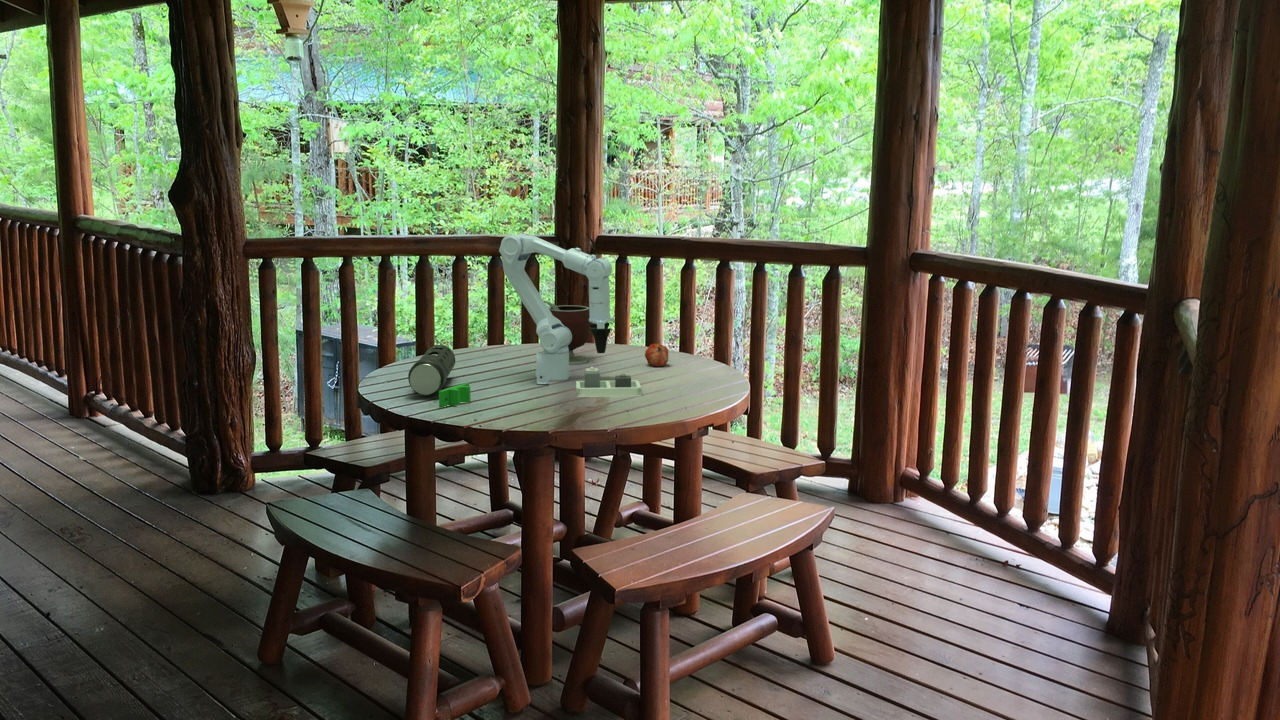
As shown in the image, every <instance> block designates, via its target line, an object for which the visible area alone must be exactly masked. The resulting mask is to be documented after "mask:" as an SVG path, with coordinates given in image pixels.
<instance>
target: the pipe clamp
mask: <svg viewBox="0 0 1280 720" xmlns="http://www.w3.org/2000/svg"><path fill="white" fill-rule="evenodd" d="M471 397H472V396H471V386H470V383H468V382H464V383H461V384H457V385H455V386H451V387H448V388H444V389H440V391H438V405H439V407H444V406H447V405H460V406H461V404H460V402H470V401H471V399H472V398H471ZM471 402H472V401H471Z"/></svg>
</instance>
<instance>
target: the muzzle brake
mask: <svg viewBox="0 0 1280 720" xmlns="http://www.w3.org/2000/svg"><path fill="white" fill-rule="evenodd" d="M455 364H456V355H455V353H454V351H453V350H452V349H451V348H450V347H449V346H447V345H444V344H436V345H433V346H431V347H429V348H428V349H427V350H426V352H424V354H423V355H422V356H421V357H420V358H419V360H417V361H416V362H415V363H414V364H413V365H412V366H411V367H410V369H409V372H408V374H407V375H408V376H407V379H408V384H409V386H410V388H411V389H412V391H414V392H415V393H417V394H419V395H421V396H432V395H433V396H434V395H435V394H437V393H439V391H441V390H442V388H443V386H444V385H445V384H446V381H447V379H448V377H449V375H450V374H451V372H452V371H453V369H454V367H455V366H456V365H455Z"/></svg>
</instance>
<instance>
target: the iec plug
mask: <svg viewBox="0 0 1280 720" xmlns="http://www.w3.org/2000/svg"><path fill="white" fill-rule="evenodd" d="M583 372H584V373H583V374H584V380H583V381H584V384H585V388H600V381H601V372H600V371H599V368H597V367H594V366H590V367H589V368H588V367H587V368H585V370H584V371H583Z"/></svg>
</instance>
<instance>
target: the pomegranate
mask: <svg viewBox="0 0 1280 720" xmlns="http://www.w3.org/2000/svg"><path fill="white" fill-rule="evenodd" d="M644 352H645V353H644V357H645V359H646V361H647V363H648V365H650V366H651V367H663V366H665V365H667V364H668V362H669V350H668V347H667V346H666V345H662V344H660V343H658V342H657V343H656V342H655V343H651V344H650V345H649V346H648V347H647V348H646V350H645V351H644Z"/></svg>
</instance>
